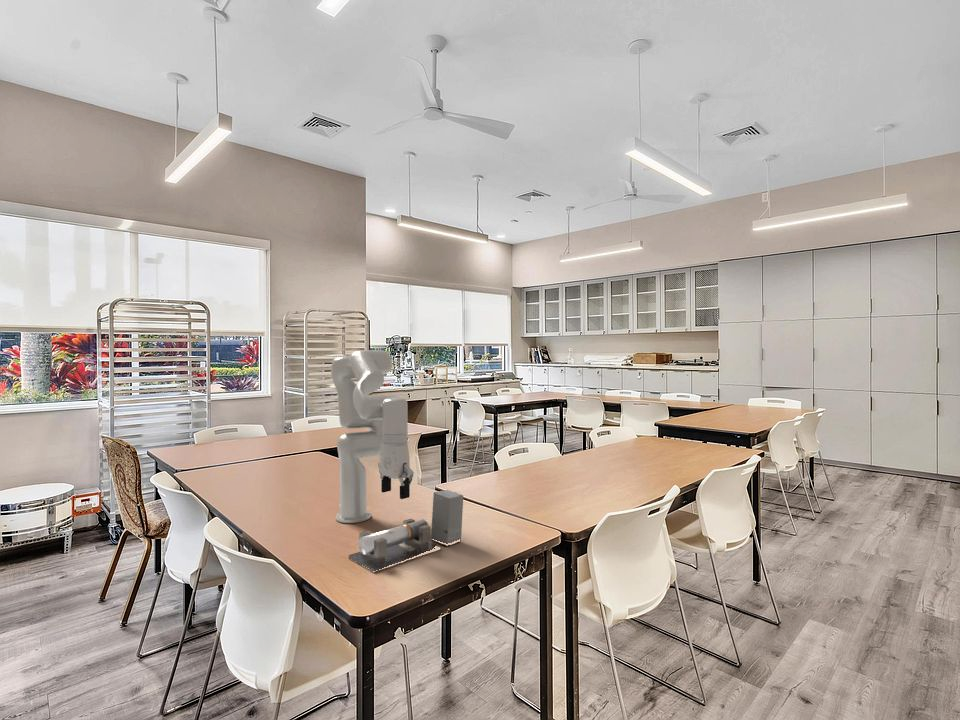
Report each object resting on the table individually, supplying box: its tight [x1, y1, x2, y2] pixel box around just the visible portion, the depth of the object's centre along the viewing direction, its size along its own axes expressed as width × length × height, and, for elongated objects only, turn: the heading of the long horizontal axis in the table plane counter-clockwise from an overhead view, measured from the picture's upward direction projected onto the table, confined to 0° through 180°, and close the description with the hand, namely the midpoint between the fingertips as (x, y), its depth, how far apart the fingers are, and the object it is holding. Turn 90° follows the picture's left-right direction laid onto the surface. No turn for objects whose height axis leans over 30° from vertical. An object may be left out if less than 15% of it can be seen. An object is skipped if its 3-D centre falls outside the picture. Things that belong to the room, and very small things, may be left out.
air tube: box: [358, 519, 429, 555], centre depth 155 cm, size 22×5×5 cm, turn 134°
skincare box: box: [431, 489, 464, 544], centre depth 165 cm, size 8×7×16 cm
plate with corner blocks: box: [348, 518, 437, 571], centre depth 155 cm, size 14×24×8 cm, turn 134°
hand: (395, 494), depth 155 cm, fingers open, 9 cm apart
